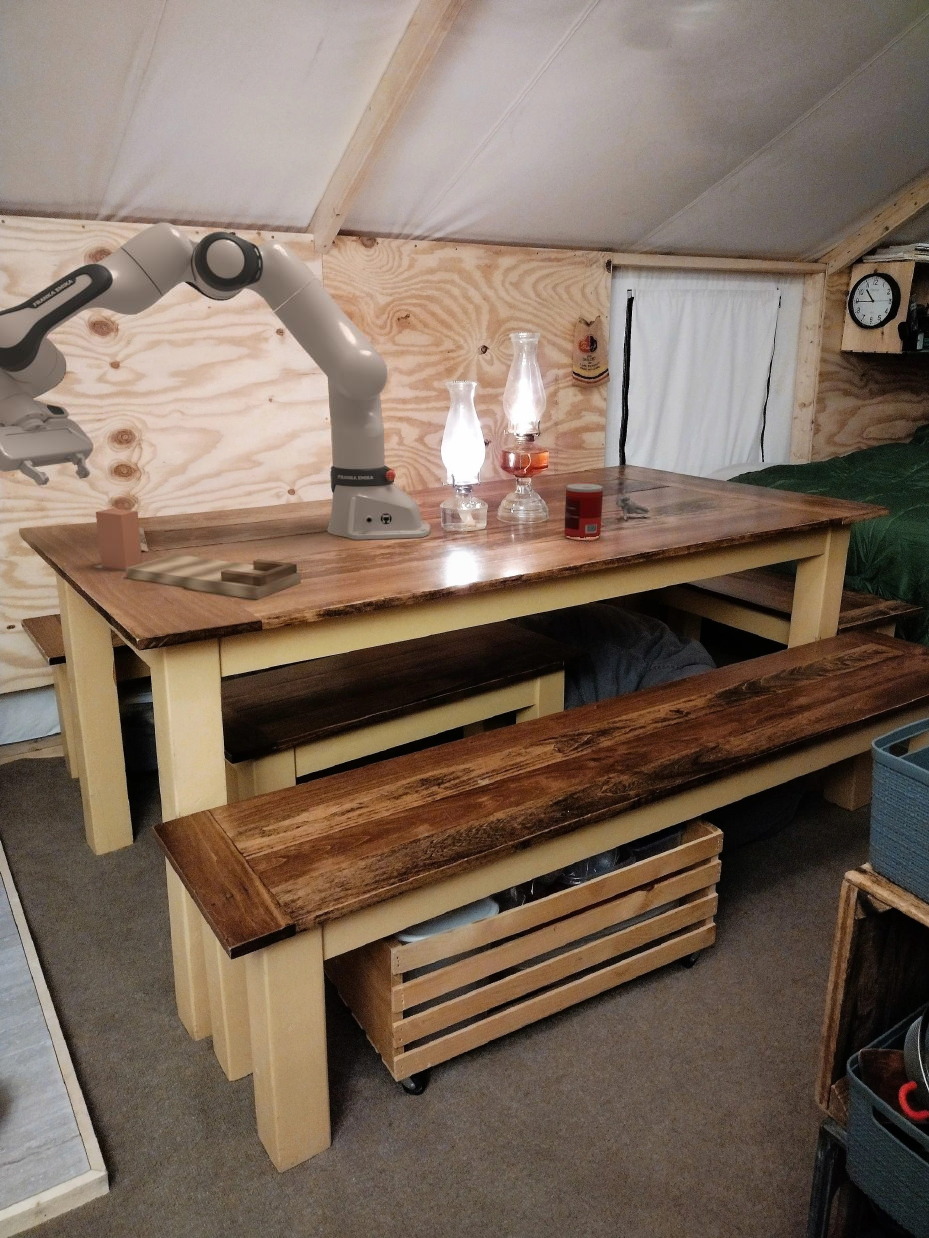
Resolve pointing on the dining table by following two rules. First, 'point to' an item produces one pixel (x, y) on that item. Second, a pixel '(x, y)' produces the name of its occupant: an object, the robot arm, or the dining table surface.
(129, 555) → the block
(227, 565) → the rail deck
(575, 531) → the canned food
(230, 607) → the dining table surface
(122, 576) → the dining table surface
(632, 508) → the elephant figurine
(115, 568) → the plate
